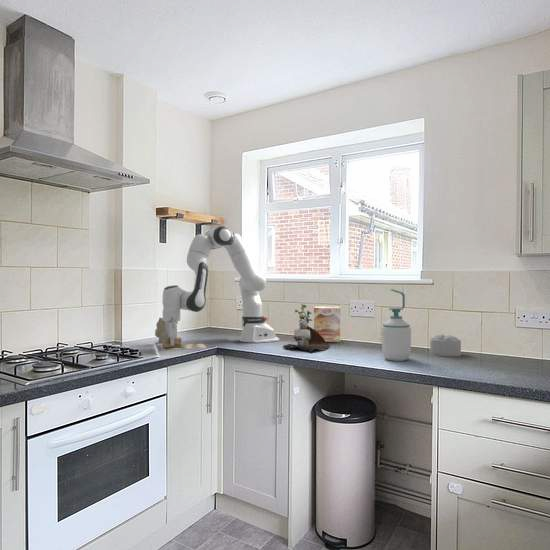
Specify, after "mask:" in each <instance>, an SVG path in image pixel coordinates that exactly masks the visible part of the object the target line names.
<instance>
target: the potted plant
mask: <svg viewBox="0 0 550 550" xmlns="http://www.w3.org/2000/svg"><path fill="white" fill-rule="evenodd" d="M305 308H307V305H306V304H301V307H300V309H301V310H300V311H299V310H298V309H294V311H295V313H297V314H298V316H299V320H298V324H299V328H298V329H295V330H294V332H293V339H294V341H296V342H297V344H292V343H288V344H284V345H283V346H282V349H285V350H286V351H287V350H288V351H289V349H291V348H293V349H296V348H299V349H301V350H303V351H307V350H308V351H310V353H311V352H313V351H314V349H317V350H319V351H326V350H327V349H328V348H330V347H331V345H330V344H329V343H328V342H325V340H324V339H323V338H322V336H321V335H320V334H319V333H318V332H316V331H315V330H314V328H312V327H310V326H309V325H308V324H309V323H310V321H311V322H312V321H313V322H314V319H311V318H310V315H313V313H312V312H310V311H309V310H307V311H305Z"/></svg>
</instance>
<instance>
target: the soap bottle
mask: <svg viewBox="0 0 550 550" xmlns="http://www.w3.org/2000/svg"><path fill="white" fill-rule="evenodd" d="M390 291H391V292H393V293H398V294H400V295H401V296H402V307H389V308H388V310H389V311H391V312H392V313H393V315H390V316H389V319H388V320H387V321H385V322H384V324H382V327H381V351H382V355H383V357H384V358H385V359H386V360H388V361H393V362H404V361H407V360H408V359H410V356H411V353H412V329H411V327H410V324H409V323H407V322H406V321H404V320H403V316H401V315H399V313H401V311H402V310H404V309H405V308H406V307H405V304H406V298H405V297H406V296H405V295H406V294H405V293H404V292H402V291H399V290H397V289H394V288H393V289H392V288H390Z"/></svg>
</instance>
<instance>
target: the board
mask: <svg viewBox="0 0 550 550" xmlns="http://www.w3.org/2000/svg"><path fill="white" fill-rule="evenodd" d="M160 348H161V350H162V351H170V350H171V351H172V350H188V349H201V348H202V349H203V348H204V349H205V348H207V346H206V345H205V344H204V343H194V344H193V343H190V344H181V347H179V348H163V347H162V345H160Z"/></svg>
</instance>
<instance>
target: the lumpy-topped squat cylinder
mask: <svg viewBox="0 0 550 550" xmlns="http://www.w3.org/2000/svg"><path fill="white" fill-rule="evenodd" d="M429 339H430V340H429V349H430V350H429V354H430V355H431V356H435V357H436V356H438V357H461V356H462V343H461V339H459V338H458V337H456V336H453V335H446V336H445V335H444V334H440V335H435V336H434V337H431V338H429Z"/></svg>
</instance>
